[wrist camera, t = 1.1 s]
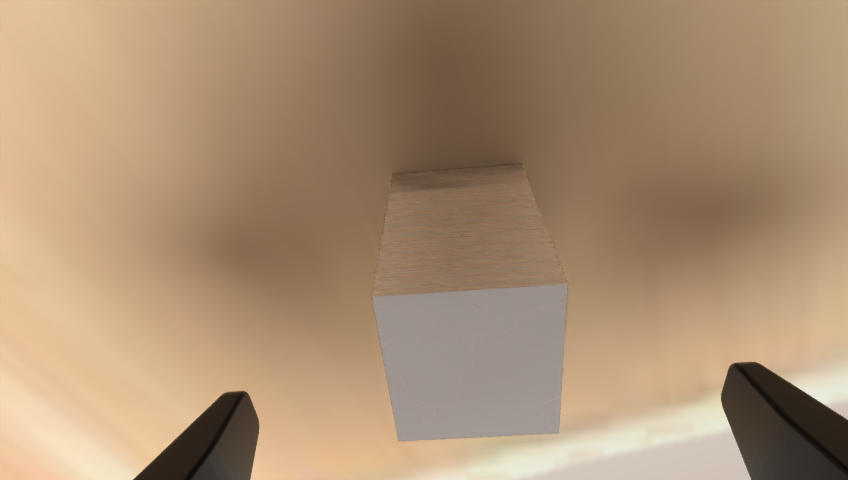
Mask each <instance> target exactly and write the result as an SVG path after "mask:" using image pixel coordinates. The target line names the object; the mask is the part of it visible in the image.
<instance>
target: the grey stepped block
mask: <svg viewBox="0 0 848 480" xmlns="http://www.w3.org/2000/svg"><path fill="white" fill-rule="evenodd" d="M567 293H568V282H567V280H566V277H565V275H564V272H563V269H562V267H561V264H560V262H559V259H558V256H557V254H556V251H555V249H554V246H553V243H552V241H551V238H550V236H549V233H548V230H547V228H546V225H545V222H544V220H543V217H542V215H541V212H540V209H539V207H538V204H537V202H536V199H535V196H534V194H533V191H532V189H531V186H530V183H529V181H528V178H527V176H526V173H525V170H524V168H523V165H522V163H521V164H509V165H497V166H485V167H472V168H460V169H448V170H436V171H424V172H412V173H400V174H392V179H391V185H390V191H389V197H388V203H387V209H386V215H385V221H384V227H383V233H382V239H381V245H380V251H379V257H378V263H377V270H376V276H375V282H374V288H373V294H372V300H373V306H374V311H375V316H376V322H377V327H378V333H379V338H380V344H381V349H382V355H383V360H384V365H385V371H386V376H387V382H388V387H389V393H390V398H391V404H392V409H393V414H394V420H395V425H396V431H397V436H398V441H415V440H435V439H455V438H475V437H495V436H515V435H535V434H556V433H559V422H560V406H561V390H562V374H563V358H564V341H565V325H566V309H567Z"/></svg>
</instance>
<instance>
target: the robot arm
mask: <svg viewBox="0 0 848 480" xmlns="http://www.w3.org/2000/svg"><path fill="white" fill-rule="evenodd" d="M721 402H722V406H723V409H724V412H725V414H726V417H727V419H728V422H729V424H730V427H731V429H732V432H733V435H734V437H735V439H736V442H737V445H738V447H739V450H740V452H741V455H742V457H743V460H744V463H745V465H746V467H747V470H748V473H749V475H750V477H751V480H848V420H847V419H846V418H844V417H843V416H841V415H839V414H838V413H836V412H835V411H833V410H831V409H830V408H828V407H827V406H825V405H824V404H822V403H821V402H819V401H817V400H816V399H814V398H813V397H811V396H810V395H808V394H806V393H805V392H803V391H802V390H800V389H799V388H797V387H795V386H794V385H792V384H791V383H789V382H788V381H786V380H784V379H783V378H781V377H780V376H778V375H777V374H775V373H773V372H772V371H770V370H769V369H767V368H766V367H764V366H763V365H761V364H759V363H756V362H741V363H733V364H732V365H731V366H730V367H729V369H728V373H727V376H726V379H725V383H724V386H723V390H722V394H721ZM258 434H259V420H258V417H257V414H256V411H255V409H254V406H253V404H252V401H251V399H250V396H249V394H248V393H247V392H245V391H235V392H226V393H224V394H222V395H221V396H220V397H219V398H218V399H217V400H216V401H215V402H214V403H213V404H212V405H211V406H210V407H209V408H208V409H207V410H206V411H204V412H203V413H202V414H201V415H200V416H199V417H198V418H197V419H196V420H195V421H194V422H193V423H192V424H191V425H190V426H189V427H188V428H187V429H186V430H185V431H184V432H182V433H181V434H180V435H179V436H178V437H177V438H176V439H175V440H174V441H173V442H172V443H171V444H170V445H169V446H168V447H167V448H166V449H165V450H164V451H163V452H162V453H161V454H159V455H158V456H157V457H156V458H155V459H154V460H153V461H152V462H151V463H150V464H149V465H148V466H147V467H146V468H145V469H144V470H143V471H142V472H141V473H140V474H139V475H138V476H136V477H135V478H134V479H133V480H250V478H251V472H252V467H253V461H254V456H255V450H256V445H257V439H258Z"/></svg>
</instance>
